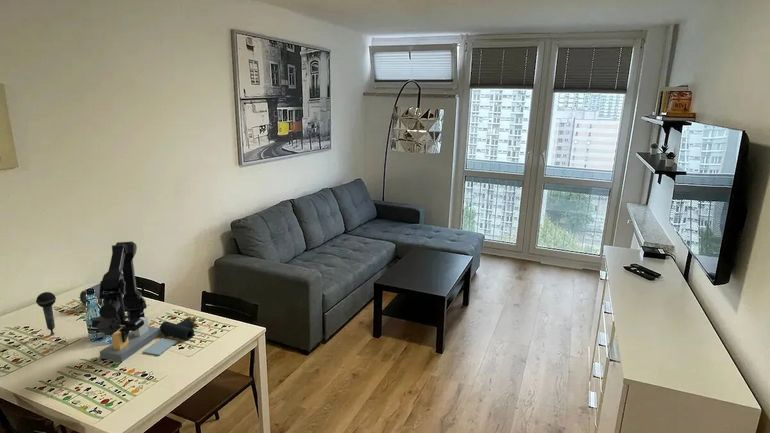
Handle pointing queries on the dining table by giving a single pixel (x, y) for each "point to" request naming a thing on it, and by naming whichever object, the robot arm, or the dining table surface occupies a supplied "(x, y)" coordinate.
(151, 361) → the dining table surface
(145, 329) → the grey plug
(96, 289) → the bluetooth speaker
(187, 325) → the pipe connector
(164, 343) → the slate mat
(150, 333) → the header
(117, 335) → the tan rectangular block
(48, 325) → the microphone
